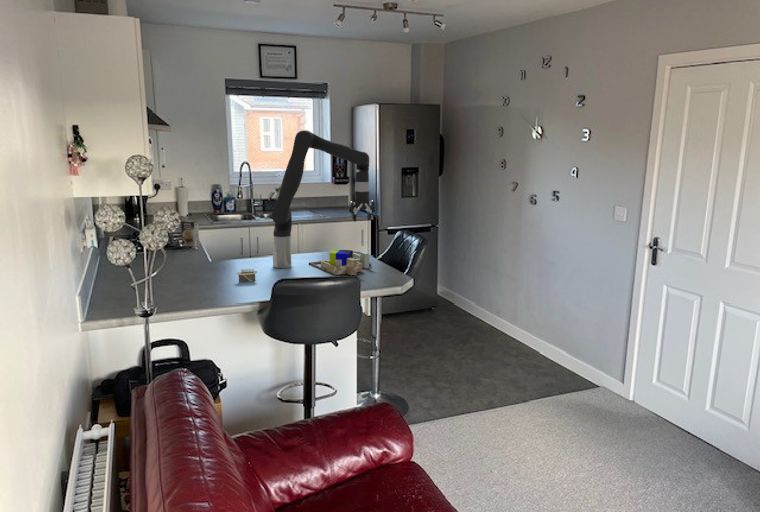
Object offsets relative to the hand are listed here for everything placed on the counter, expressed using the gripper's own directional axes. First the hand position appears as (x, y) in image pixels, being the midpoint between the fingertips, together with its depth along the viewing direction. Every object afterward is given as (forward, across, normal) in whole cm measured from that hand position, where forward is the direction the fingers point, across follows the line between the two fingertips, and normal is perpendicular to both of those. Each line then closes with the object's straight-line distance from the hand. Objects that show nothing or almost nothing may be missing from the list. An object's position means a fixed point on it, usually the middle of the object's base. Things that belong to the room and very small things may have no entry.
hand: (361, 220), depth 300 cm
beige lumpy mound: (+26, -11, -1) cm, 28 cm away
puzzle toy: (+26, -11, +2) cm, 29 cm away
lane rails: (+26, -7, +12) cm, 30 cm away
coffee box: (+26, -67, +108) cm, 130 cm away
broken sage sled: (+26, +2, +10) cm, 28 cm away
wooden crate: (+27, -63, +1) cm, 68 cm away
